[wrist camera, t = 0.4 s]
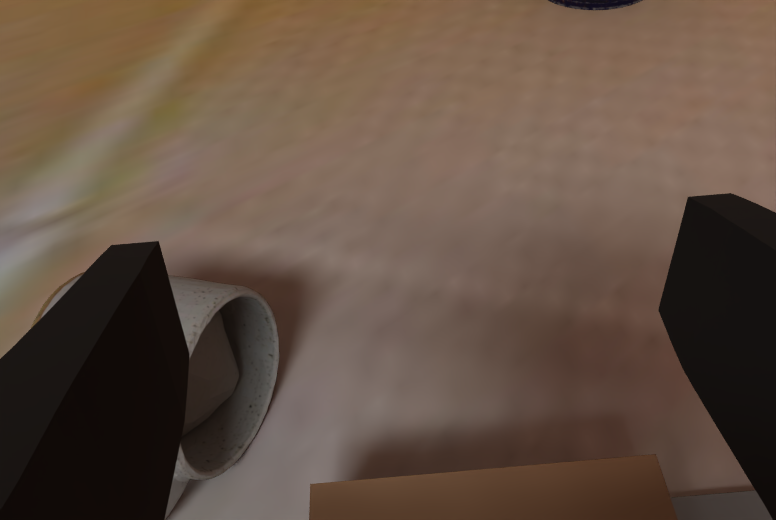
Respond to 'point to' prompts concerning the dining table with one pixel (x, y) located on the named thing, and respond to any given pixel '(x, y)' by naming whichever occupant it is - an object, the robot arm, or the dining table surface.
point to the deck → (506, 494)
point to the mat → (721, 507)
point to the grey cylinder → (217, 373)
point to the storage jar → (595, 4)
